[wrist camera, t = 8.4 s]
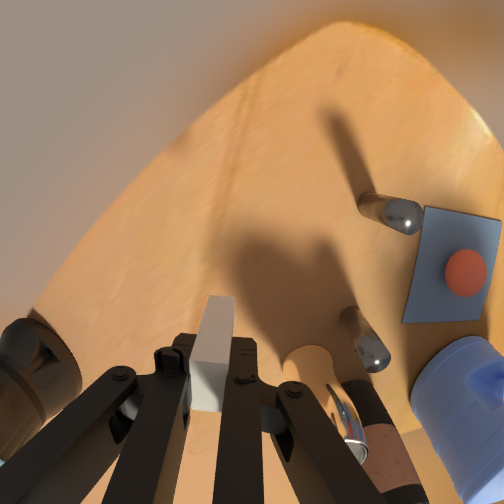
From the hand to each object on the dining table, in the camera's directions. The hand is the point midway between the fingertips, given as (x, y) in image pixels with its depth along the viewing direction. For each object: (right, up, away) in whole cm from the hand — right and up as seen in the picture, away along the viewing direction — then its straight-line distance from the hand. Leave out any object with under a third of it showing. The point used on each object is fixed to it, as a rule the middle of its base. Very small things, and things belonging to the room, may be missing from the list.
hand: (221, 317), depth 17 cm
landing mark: (+27, +2, +14) cm, 31 cm away
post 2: (+13, -3, +15) cm, 20 cm away
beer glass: (+8, -10, +17) cm, 21 cm away
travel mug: (+15, -16, +18) cm, 29 cm away
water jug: (+32, -15, +18) cm, 40 cm away
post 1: (+14, +9, +12) cm, 20 cm away
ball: (+26, +1, +11) cm, 28 cm away
